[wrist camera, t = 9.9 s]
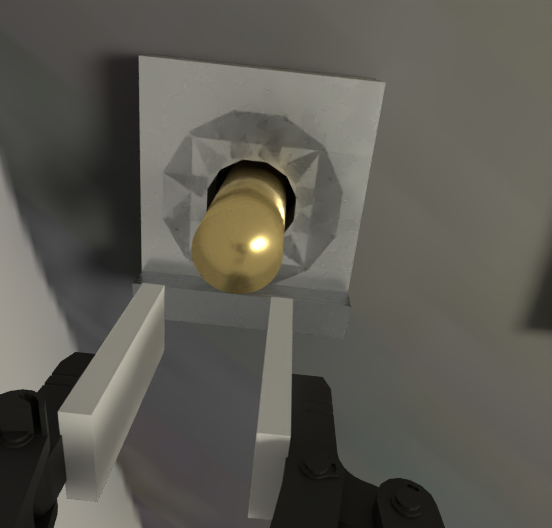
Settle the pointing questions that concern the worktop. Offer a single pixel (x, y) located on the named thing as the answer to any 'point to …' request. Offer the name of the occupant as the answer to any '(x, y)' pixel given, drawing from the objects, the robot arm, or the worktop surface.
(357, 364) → the worktop surface
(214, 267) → the gold brass cylinder
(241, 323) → the jig
